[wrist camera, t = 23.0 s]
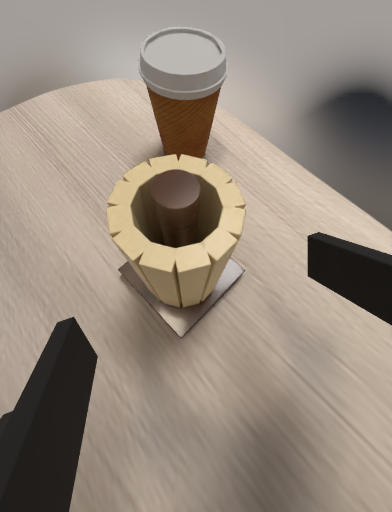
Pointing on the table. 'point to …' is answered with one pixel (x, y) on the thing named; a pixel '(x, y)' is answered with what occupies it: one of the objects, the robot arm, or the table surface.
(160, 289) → the wooden stave sleeve
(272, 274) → the table surface
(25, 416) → the robot arm
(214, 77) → the disposable coffee cup
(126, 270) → the spindle stand
